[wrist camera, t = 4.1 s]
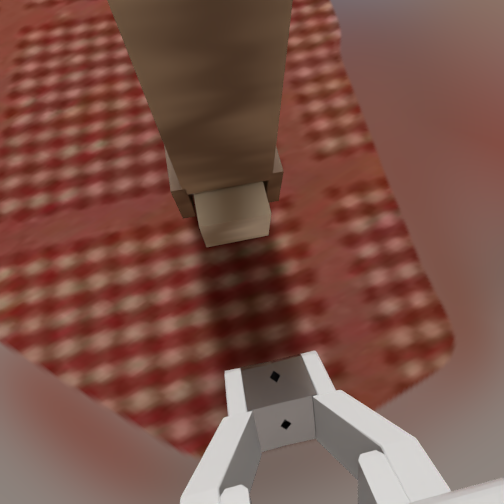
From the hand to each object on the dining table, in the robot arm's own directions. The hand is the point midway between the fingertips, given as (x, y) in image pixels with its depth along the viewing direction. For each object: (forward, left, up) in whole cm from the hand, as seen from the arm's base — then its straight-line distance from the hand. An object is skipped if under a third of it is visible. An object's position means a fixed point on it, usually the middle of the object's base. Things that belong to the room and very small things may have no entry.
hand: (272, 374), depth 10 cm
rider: (0, +12, -7) cm, 14 cm away
